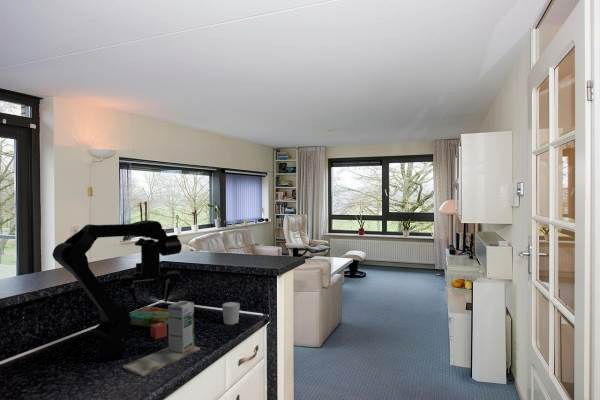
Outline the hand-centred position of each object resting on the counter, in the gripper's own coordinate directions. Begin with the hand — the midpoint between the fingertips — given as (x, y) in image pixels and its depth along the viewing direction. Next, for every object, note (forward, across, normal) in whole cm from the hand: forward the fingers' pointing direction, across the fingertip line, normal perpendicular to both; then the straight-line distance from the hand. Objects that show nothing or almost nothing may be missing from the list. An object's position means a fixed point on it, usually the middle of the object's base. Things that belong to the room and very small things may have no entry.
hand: (151, 304), depth 123 cm
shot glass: (+14, -30, -8) cm, 34 cm away
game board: (+13, -2, +14) cm, 19 cm away
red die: (+13, -3, -5) cm, 14 cm away
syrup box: (+13, -8, +10) cm, 18 cm away
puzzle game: (+14, -2, -20) cm, 25 cm away
